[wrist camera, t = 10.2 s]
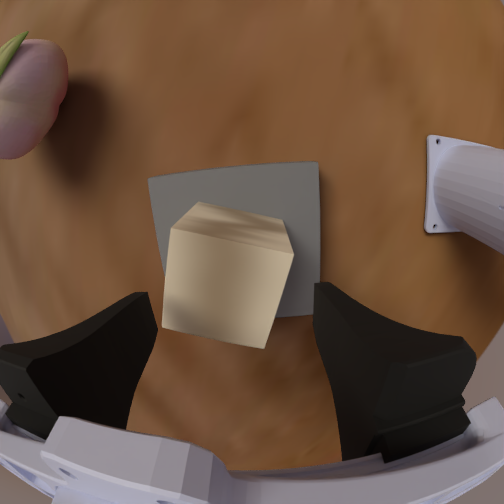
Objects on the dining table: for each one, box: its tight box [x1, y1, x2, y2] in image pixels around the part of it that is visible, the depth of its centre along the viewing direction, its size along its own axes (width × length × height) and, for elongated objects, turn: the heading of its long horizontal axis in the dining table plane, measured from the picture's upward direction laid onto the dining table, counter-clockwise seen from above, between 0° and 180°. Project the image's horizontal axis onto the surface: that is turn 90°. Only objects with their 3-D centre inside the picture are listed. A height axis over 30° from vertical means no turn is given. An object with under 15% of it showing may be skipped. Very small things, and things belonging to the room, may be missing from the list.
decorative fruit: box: [0, 31, 68, 159], centre depth 11 cm, size 9×8×10 cm
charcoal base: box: [148, 161, 320, 318], centre depth 20 cm, size 11×11×2 cm
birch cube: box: [162, 202, 294, 349], centre depth 16 cm, size 6×6×6 cm
